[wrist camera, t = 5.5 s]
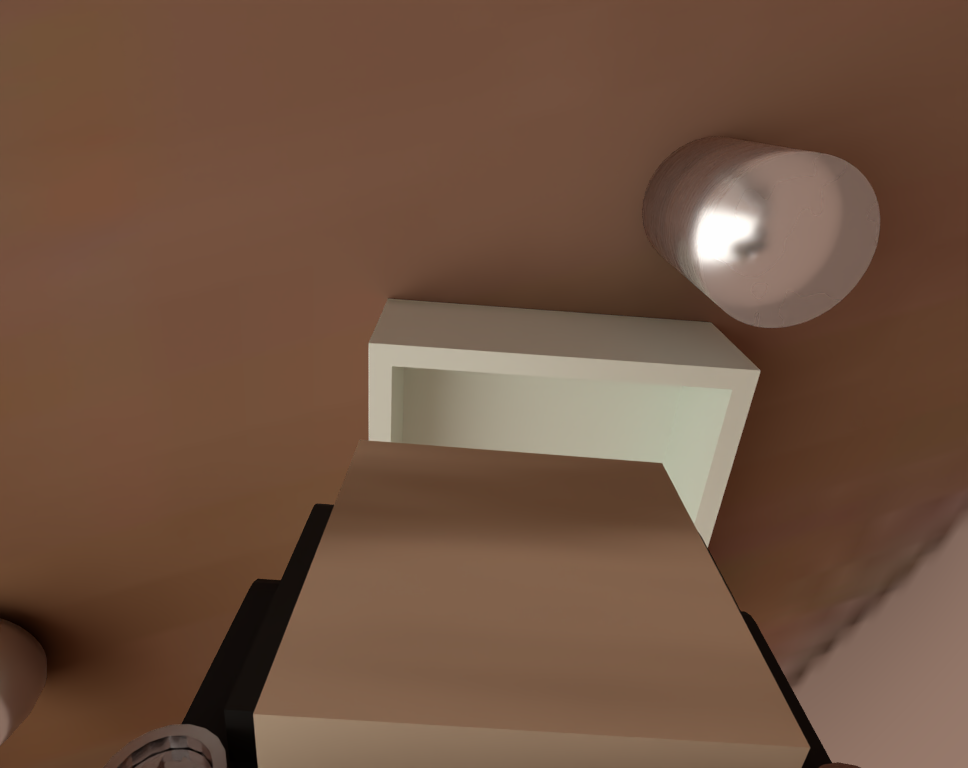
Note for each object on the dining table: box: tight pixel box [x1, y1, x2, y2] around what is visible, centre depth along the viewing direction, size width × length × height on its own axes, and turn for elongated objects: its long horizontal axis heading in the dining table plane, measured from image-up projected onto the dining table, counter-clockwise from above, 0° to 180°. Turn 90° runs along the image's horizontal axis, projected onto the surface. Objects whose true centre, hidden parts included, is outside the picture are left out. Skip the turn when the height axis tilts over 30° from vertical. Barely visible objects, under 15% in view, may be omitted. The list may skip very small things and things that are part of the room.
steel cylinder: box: [642, 137, 880, 328], centre depth 21 cm, size 5×5×7 cm
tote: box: [369, 299, 761, 548], centre depth 27 cm, size 18×14×5 cm
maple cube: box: [253, 440, 810, 768], centre depth 9 cm, size 5×5×5 cm
